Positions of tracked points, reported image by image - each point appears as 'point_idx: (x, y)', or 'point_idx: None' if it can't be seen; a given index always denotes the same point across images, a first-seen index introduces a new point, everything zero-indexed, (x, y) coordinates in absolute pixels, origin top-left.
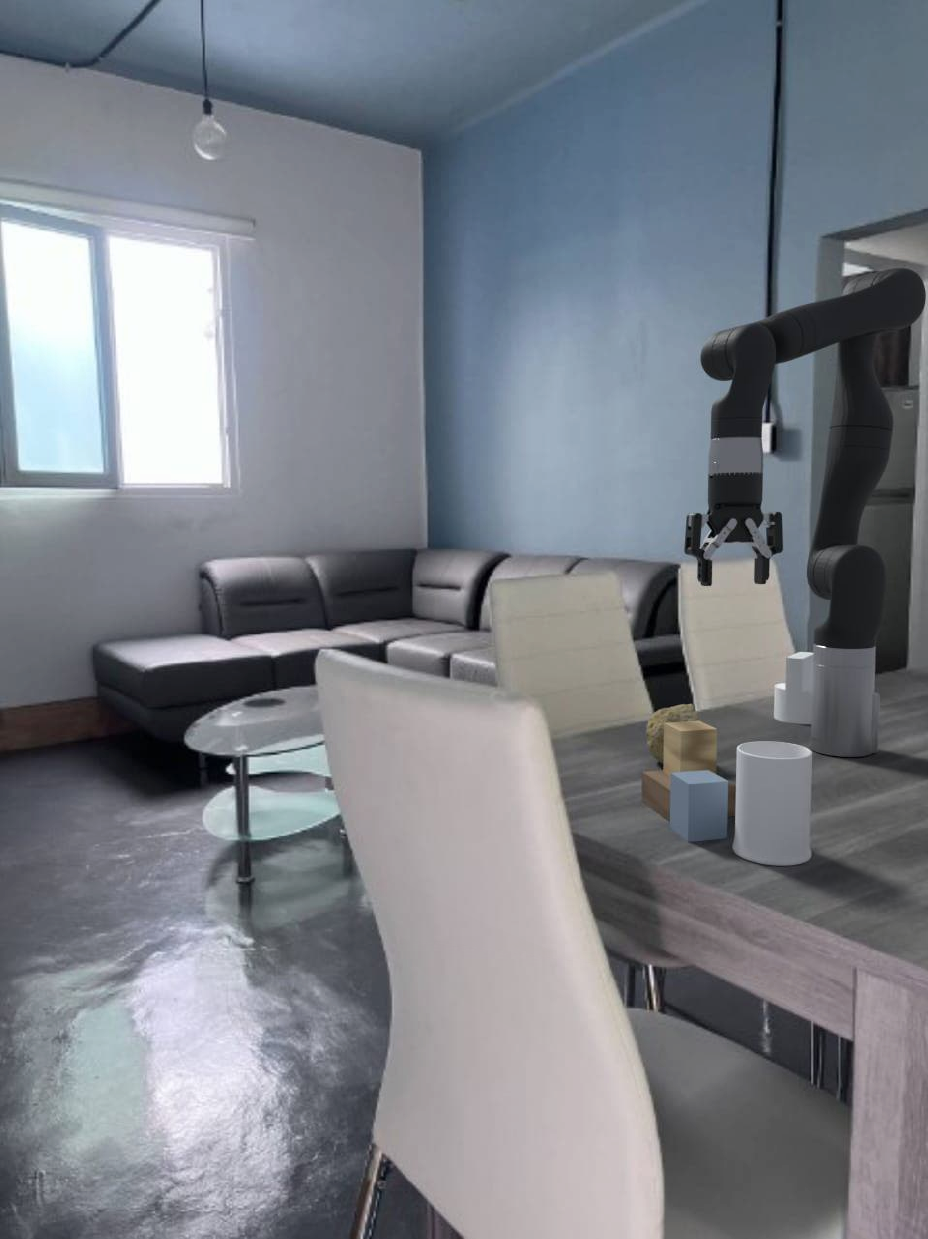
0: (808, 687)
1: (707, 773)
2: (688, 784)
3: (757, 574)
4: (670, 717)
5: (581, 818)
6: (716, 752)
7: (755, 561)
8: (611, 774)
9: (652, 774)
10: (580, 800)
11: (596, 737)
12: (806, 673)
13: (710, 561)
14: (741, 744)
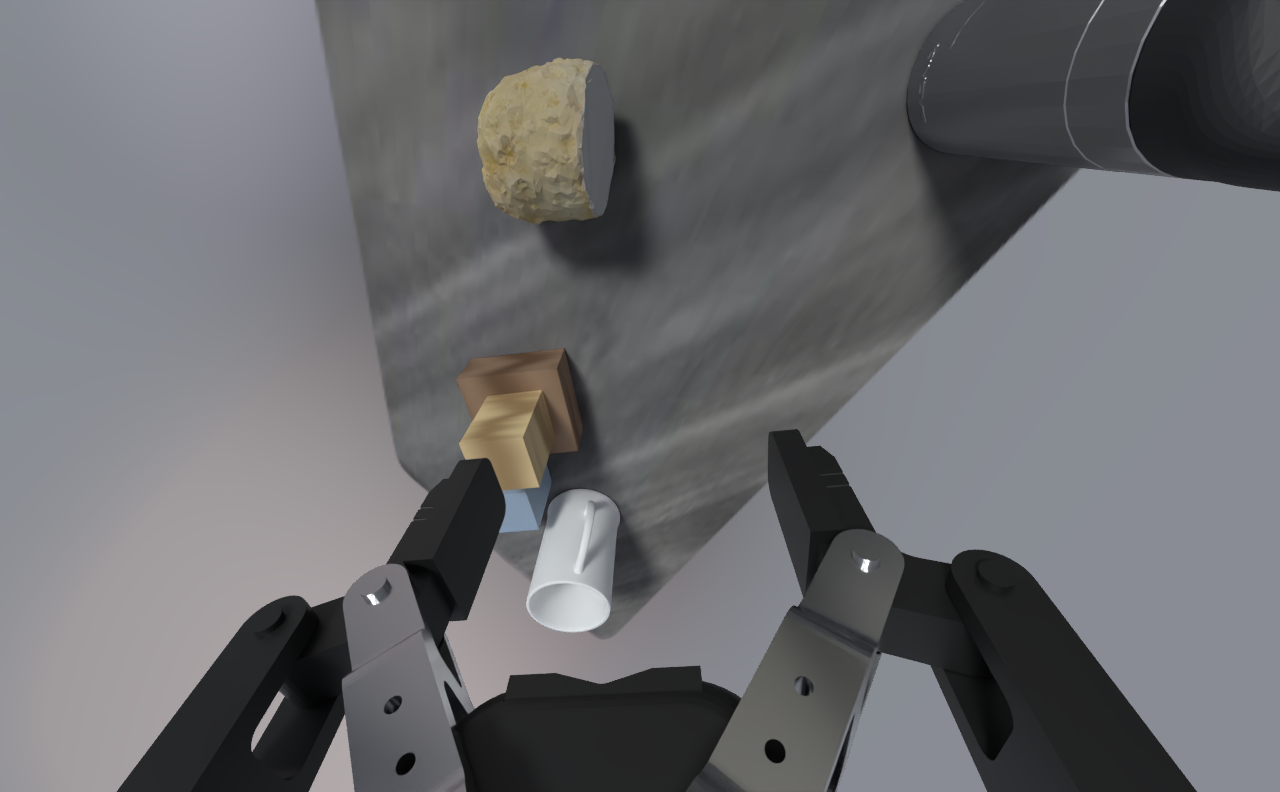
0: None
1: (521, 503)
2: None
3: (780, 485)
4: (519, 195)
5: (391, 411)
6: (546, 462)
7: (802, 523)
8: (428, 211)
9: (471, 393)
10: (383, 346)
11: None
12: None
13: (457, 614)
14: (536, 590)
